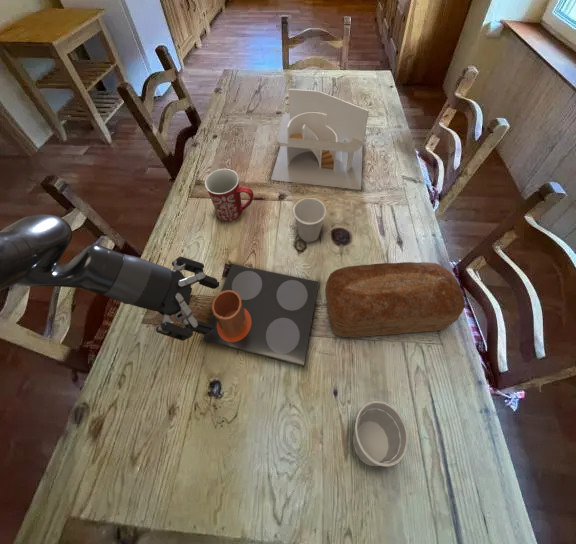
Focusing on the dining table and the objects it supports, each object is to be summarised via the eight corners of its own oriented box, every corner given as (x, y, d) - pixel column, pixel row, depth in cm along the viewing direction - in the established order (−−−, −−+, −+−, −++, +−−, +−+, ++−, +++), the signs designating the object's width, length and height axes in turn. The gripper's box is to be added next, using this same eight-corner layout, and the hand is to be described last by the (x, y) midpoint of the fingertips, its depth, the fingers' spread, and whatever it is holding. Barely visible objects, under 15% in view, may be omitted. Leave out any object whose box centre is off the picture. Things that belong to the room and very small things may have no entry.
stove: (303, 367, 70) (303, 364, 69) (204, 341, 74) (202, 338, 73) (318, 284, 82) (318, 281, 81) (232, 266, 86) (231, 263, 85)
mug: (208, 221, 96) (198, 190, 87) (221, 197, 103) (213, 165, 93) (250, 230, 94) (244, 199, 84) (261, 205, 100) (256, 174, 91)
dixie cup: (315, 215, 97) (316, 193, 90) (330, 238, 91) (332, 216, 84) (288, 226, 94) (287, 204, 87) (302, 250, 89) (302, 228, 82)
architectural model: (270, 179, 107) (264, 120, 91) (283, 136, 122) (280, 79, 106) (361, 189, 103) (372, 129, 87) (362, 143, 118) (372, 85, 102)
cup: (338, 441, 61) (344, 430, 53) (366, 404, 65) (376, 388, 57) (375, 486, 57) (387, 482, 48) (402, 443, 61) (418, 433, 52)
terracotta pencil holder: (242, 340, 72) (235, 322, 65) (216, 333, 73) (207, 315, 66) (250, 313, 76) (245, 293, 69) (226, 307, 77) (218, 287, 70)
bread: (320, 290, 81) (323, 259, 71) (436, 281, 82) (455, 249, 72) (328, 344, 73) (332, 318, 63) (457, 334, 73) (482, 306, 63)
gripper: (136, 316, 53) (221, 339, 61) (158, 238, 63) (229, 266, 71) (115, 330, 57) (198, 350, 65) (139, 254, 67) (209, 279, 75)
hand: (214, 306), depth 68 cm, fingers open, 8 cm apart
